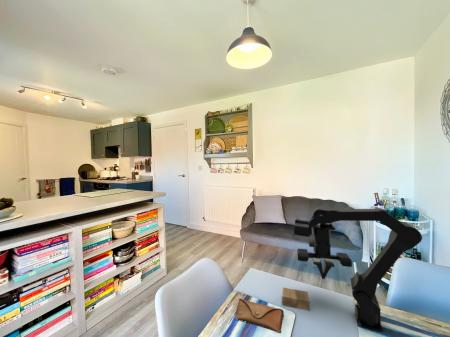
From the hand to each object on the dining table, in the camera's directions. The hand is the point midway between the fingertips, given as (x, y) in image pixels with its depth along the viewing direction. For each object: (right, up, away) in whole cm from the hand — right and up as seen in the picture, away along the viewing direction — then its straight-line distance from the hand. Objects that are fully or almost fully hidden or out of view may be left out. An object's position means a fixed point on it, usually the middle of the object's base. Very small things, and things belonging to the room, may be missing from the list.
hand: (323, 278), depth 75 cm
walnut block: (-5, -10, +2) cm, 12 cm away
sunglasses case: (-26, -13, -4) cm, 30 cm away
